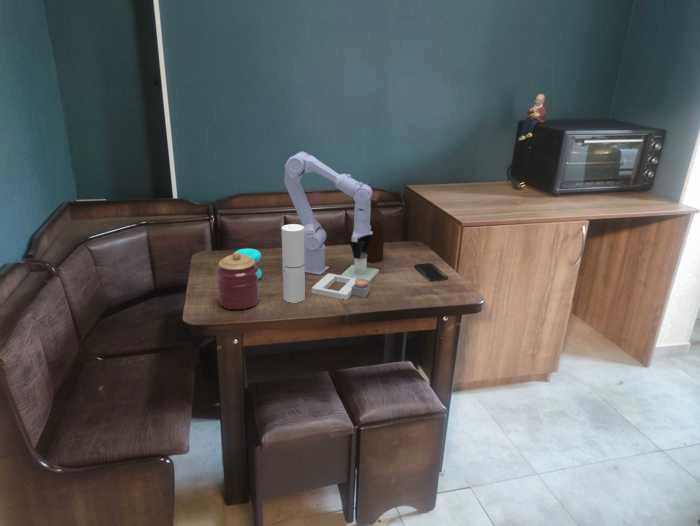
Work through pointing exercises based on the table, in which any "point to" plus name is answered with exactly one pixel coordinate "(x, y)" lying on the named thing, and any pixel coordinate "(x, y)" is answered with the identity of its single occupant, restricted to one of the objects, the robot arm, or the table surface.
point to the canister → (238, 281)
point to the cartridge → (360, 264)
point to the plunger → (361, 283)
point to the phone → (430, 272)
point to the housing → (344, 292)
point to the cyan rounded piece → (253, 254)
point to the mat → (368, 276)
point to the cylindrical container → (293, 263)
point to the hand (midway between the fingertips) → (360, 254)
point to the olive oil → (376, 233)
